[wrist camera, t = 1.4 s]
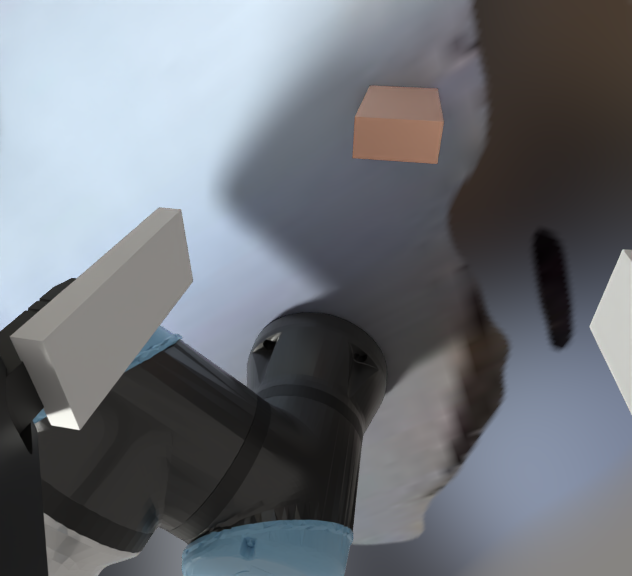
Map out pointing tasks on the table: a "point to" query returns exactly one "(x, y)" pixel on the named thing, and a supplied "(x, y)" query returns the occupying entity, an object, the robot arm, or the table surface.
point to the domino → (399, 125)
